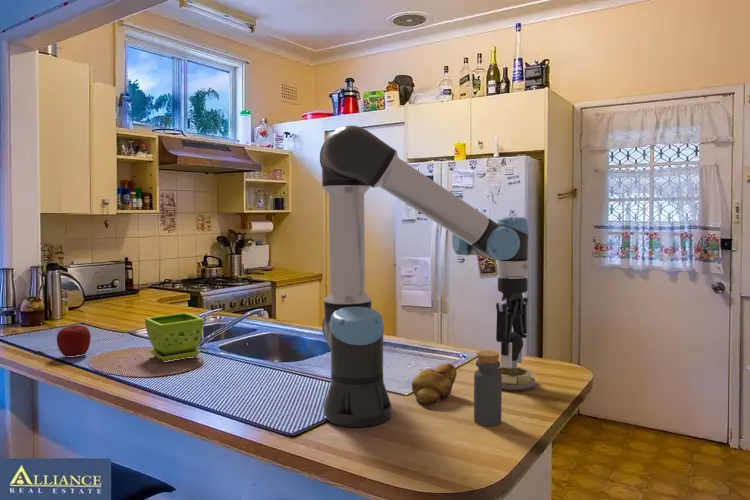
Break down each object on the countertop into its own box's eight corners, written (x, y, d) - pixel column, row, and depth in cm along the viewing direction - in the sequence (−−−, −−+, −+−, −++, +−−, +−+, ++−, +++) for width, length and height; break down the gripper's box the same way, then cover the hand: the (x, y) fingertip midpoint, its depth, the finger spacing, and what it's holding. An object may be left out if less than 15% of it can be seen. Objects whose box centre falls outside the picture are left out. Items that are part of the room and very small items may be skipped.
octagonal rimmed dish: (506, 394, 137) (506, 380, 136) (478, 381, 148) (478, 368, 147) (545, 387, 142) (545, 374, 142) (515, 375, 153) (515, 362, 152)
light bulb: (507, 373, 141) (507, 334, 140) (497, 367, 146) (497, 330, 146) (527, 371, 142) (527, 333, 142) (516, 365, 148) (516, 329, 147)
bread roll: (438, 410, 127) (438, 375, 126) (400, 402, 132) (400, 369, 131) (459, 394, 138) (459, 362, 137) (424, 387, 143) (424, 357, 142)
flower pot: (145, 357, 174) (143, 317, 173) (188, 349, 183) (187, 311, 182) (160, 366, 164) (159, 324, 163) (205, 358, 173) (204, 317, 172)
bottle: (484, 428, 115) (484, 357, 114) (468, 418, 121) (468, 351, 120) (506, 423, 118) (507, 354, 117) (490, 414, 123) (491, 348, 122)
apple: (53, 361, 169) (51, 329, 169) (63, 353, 179) (61, 323, 178) (86, 359, 172) (85, 327, 171) (94, 351, 181) (93, 321, 180)
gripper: (509, 281, 133) (508, 375, 135) (541, 274, 147) (540, 359, 149) (481, 279, 138) (481, 370, 140) (515, 272, 152) (514, 355, 154)
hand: (511, 364), depth 144 cm, fingers closed on light bulb, 6 cm apart
